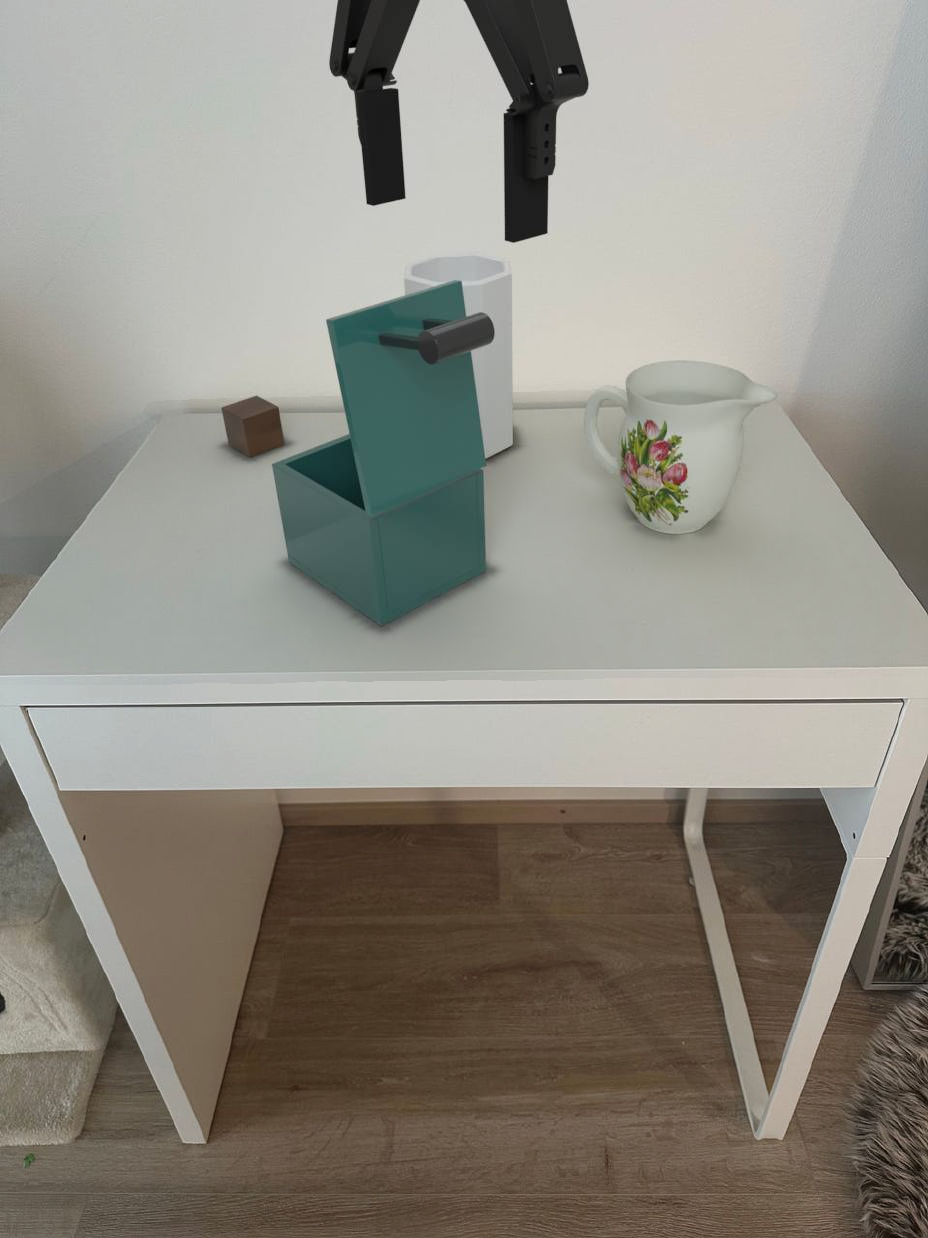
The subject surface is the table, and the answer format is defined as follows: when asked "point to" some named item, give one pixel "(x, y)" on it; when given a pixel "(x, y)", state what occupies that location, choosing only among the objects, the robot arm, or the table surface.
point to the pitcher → (677, 439)
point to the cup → (493, 296)
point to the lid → (411, 392)
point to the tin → (378, 533)
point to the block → (253, 426)
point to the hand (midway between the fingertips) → (451, 218)
